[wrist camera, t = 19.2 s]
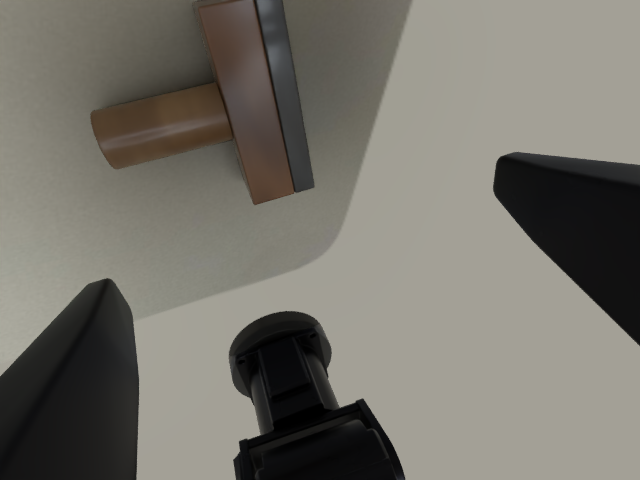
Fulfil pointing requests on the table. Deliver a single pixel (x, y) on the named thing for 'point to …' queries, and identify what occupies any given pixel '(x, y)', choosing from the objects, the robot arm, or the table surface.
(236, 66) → the brush
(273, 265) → the table surface
